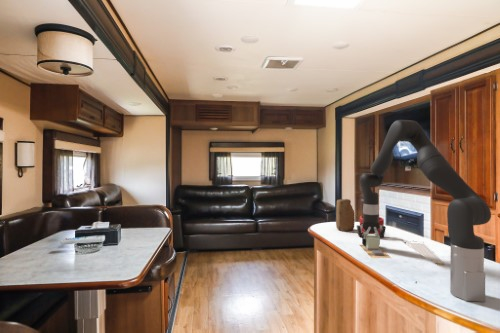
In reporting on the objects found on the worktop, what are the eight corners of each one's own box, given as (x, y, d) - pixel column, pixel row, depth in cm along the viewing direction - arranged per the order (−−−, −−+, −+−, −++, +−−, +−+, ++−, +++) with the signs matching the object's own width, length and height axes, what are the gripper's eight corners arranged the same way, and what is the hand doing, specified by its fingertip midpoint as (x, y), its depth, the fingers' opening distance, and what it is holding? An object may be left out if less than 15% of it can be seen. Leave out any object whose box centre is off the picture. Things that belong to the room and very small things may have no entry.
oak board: (391, 261, 136) (391, 257, 136) (371, 260, 137) (371, 257, 137) (376, 247, 156) (376, 244, 156) (359, 247, 157) (359, 244, 157)
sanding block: (379, 250, 147) (379, 238, 147) (367, 250, 148) (367, 238, 148) (373, 245, 155) (373, 234, 155) (363, 245, 156) (363, 233, 156)
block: (338, 231, 191) (338, 200, 190) (335, 228, 198) (335, 198, 198) (355, 231, 191) (355, 200, 190) (351, 228, 199) (351, 198, 198)
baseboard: (418, 264, 133) (444, 266, 131) (418, 258, 133) (444, 260, 131) (403, 245, 162) (423, 246, 160) (403, 239, 162) (424, 241, 160)
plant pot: (361, 240, 171) (361, 219, 170) (357, 234, 184) (357, 214, 183) (386, 241, 168) (386, 220, 168) (380, 235, 181) (380, 215, 181)
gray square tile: (383, 255, 140) (383, 253, 139) (374, 255, 140) (374, 252, 140) (380, 252, 143) (380, 250, 143) (371, 252, 144) (371, 250, 144)
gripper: (358, 214, 148) (358, 248, 148) (388, 214, 147) (388, 248, 147) (354, 211, 155) (354, 243, 156) (383, 211, 154) (383, 243, 155)
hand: (370, 245), depth 152 cm, fingers closed on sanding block, 5 cm apart
